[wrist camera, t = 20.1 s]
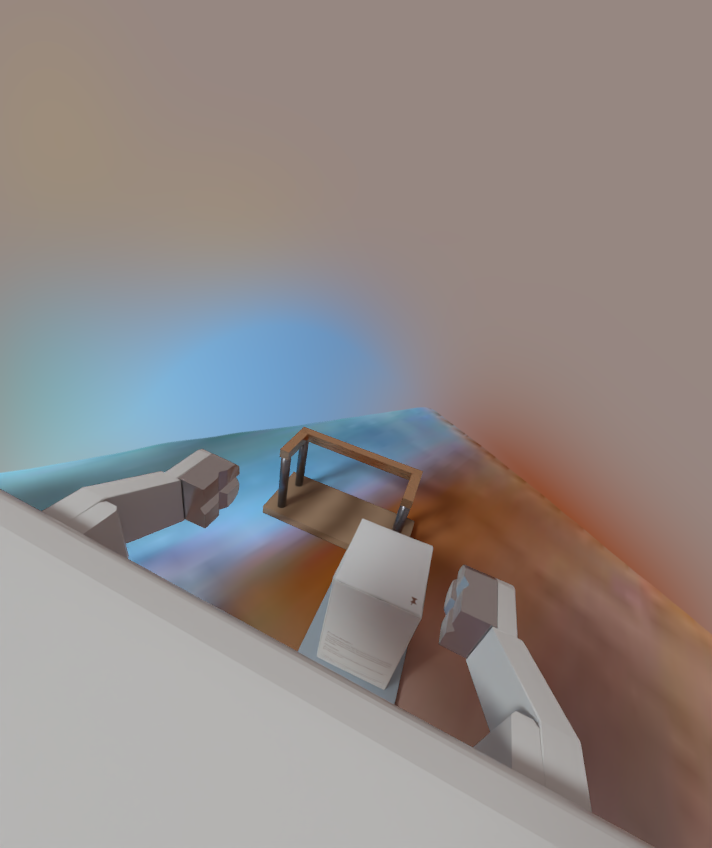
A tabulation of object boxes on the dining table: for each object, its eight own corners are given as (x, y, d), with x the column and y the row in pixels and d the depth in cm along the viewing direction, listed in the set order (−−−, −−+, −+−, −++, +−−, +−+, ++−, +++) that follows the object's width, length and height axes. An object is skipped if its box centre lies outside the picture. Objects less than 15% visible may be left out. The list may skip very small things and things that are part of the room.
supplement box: (402, 620, 38) (437, 545, 31) (384, 693, 32) (423, 620, 25) (341, 591, 39) (362, 515, 33) (312, 656, 33) (331, 578, 27)
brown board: (262, 512, 48) (263, 506, 47) (293, 477, 55) (293, 471, 54) (398, 572, 43) (400, 566, 43) (412, 526, 50) (414, 521, 50)
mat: (293, 662, 33) (293, 659, 33) (334, 578, 41) (335, 575, 41) (390, 715, 31) (392, 713, 30) (413, 615, 39) (415, 612, 39)
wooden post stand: (275, 505, 47) (280, 449, 42) (297, 480, 53) (304, 426, 47) (392, 556, 44) (412, 501, 39) (403, 524, 49) (422, 471, 44)
